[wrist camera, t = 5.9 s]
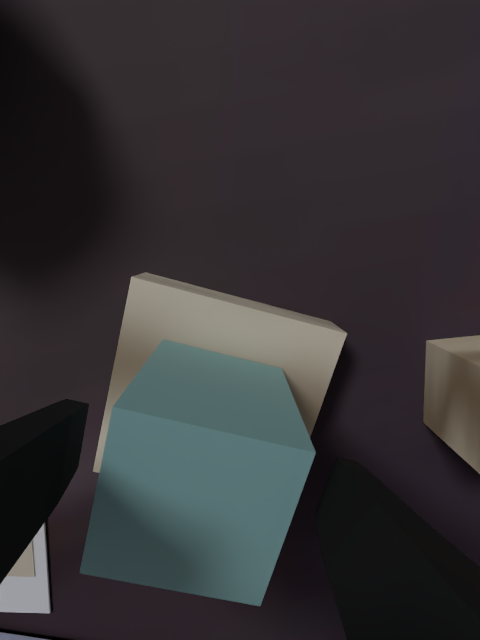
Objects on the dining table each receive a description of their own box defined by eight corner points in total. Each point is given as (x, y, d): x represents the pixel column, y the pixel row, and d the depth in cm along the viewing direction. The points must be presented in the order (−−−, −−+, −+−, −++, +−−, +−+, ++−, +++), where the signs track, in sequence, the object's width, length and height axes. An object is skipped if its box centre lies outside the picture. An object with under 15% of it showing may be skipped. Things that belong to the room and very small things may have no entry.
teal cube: (249, 469, 13) (260, 606, 8) (138, 445, 13) (79, 572, 8) (281, 368, 12) (315, 452, 7) (162, 339, 12) (112, 406, 7)
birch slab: (275, 470, 16) (284, 511, 13) (114, 435, 15) (93, 471, 13) (327, 318, 14) (347, 333, 12) (149, 271, 14) (131, 276, 11)
